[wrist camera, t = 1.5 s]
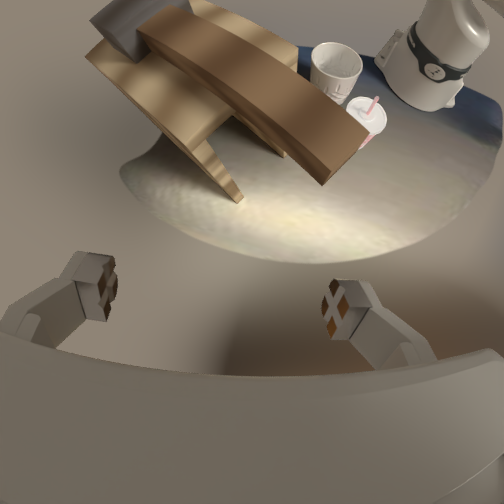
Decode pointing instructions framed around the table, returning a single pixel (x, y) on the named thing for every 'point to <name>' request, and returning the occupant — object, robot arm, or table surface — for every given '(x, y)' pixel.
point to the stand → (190, 91)
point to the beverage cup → (368, 115)
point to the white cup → (335, 69)
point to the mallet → (238, 79)
